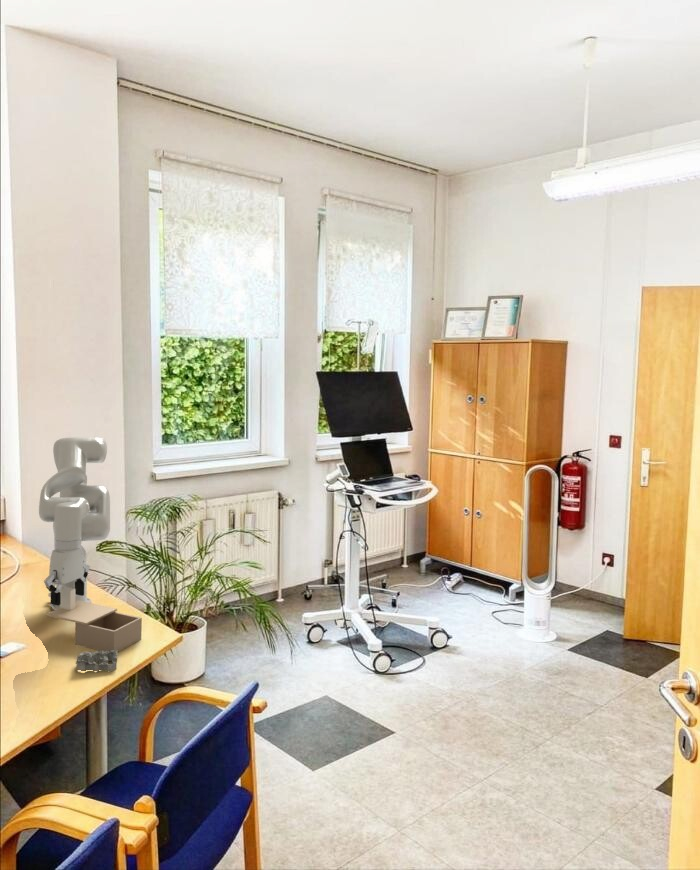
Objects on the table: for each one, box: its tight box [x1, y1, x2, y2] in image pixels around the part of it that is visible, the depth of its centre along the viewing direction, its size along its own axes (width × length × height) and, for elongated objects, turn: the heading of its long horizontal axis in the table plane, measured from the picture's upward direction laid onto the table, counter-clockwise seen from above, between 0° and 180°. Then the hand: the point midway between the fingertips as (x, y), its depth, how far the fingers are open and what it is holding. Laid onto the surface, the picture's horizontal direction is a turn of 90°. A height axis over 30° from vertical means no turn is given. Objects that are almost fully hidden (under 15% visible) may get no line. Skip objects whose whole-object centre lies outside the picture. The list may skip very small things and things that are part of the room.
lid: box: [45, 587, 118, 625], centre depth 211 cm, size 15×13×7 cm
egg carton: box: [75, 649, 119, 672], centre depth 192 cm, size 11×8×4 cm
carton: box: [74, 611, 143, 653], centre depth 208 cm, size 14×12×7 cm
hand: (67, 599), depth 213 cm, fingers open, 9 cm apart
